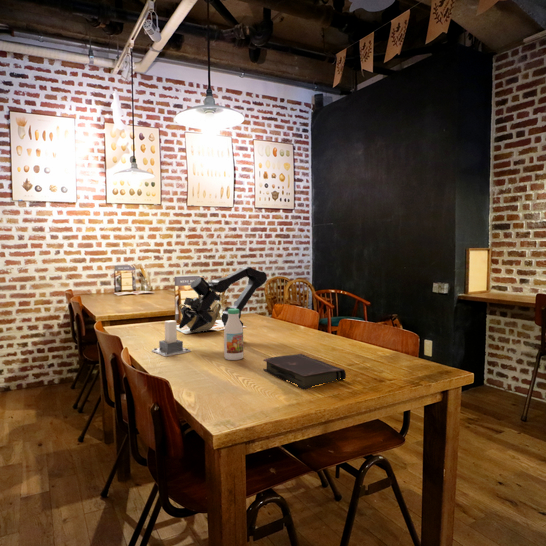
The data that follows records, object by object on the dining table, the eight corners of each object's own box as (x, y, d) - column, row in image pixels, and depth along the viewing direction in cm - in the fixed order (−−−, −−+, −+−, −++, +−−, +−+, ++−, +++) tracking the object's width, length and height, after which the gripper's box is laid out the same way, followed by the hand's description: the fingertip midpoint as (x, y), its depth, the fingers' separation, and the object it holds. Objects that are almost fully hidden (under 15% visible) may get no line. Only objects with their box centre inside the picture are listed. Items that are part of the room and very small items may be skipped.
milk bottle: (220, 359, 172) (220, 309, 171) (231, 354, 179) (230, 307, 178) (236, 361, 169) (236, 311, 167) (246, 357, 175) (246, 308, 174)
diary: (302, 365, 166) (302, 352, 166) (345, 382, 145) (346, 368, 145) (261, 372, 156) (261, 358, 156) (301, 391, 135) (301, 376, 135)
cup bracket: (176, 346, 193) (176, 337, 193) (190, 351, 184) (190, 341, 184) (151, 351, 185) (151, 341, 185) (165, 356, 176) (165, 345, 176)
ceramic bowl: (183, 336, 216) (183, 306, 215) (175, 330, 231) (175, 302, 230) (225, 332, 226) (225, 303, 225) (215, 326, 241) (215, 300, 240)
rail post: (172, 348, 187) (172, 320, 186) (176, 349, 184) (176, 321, 183) (165, 349, 184) (164, 321, 184) (169, 351, 182) (168, 322, 181)
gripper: (183, 289, 198) (162, 315, 191) (206, 292, 184) (184, 321, 177) (198, 304, 204) (178, 330, 197) (221, 308, 190) (200, 336, 183)
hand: (185, 329), depth 189 cm, fingers open, 9 cm apart
